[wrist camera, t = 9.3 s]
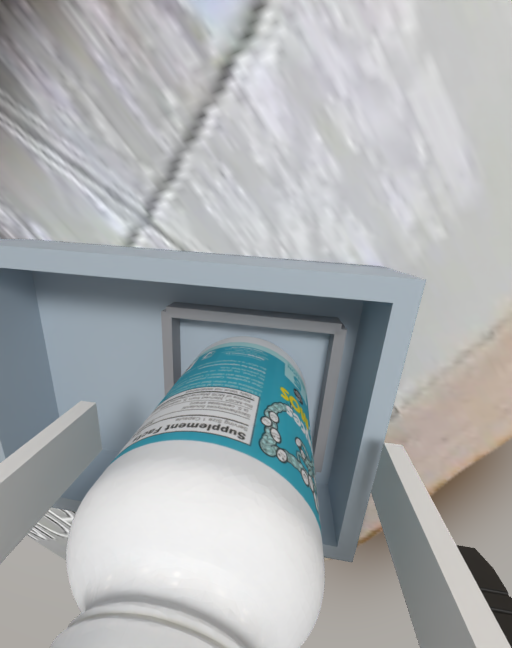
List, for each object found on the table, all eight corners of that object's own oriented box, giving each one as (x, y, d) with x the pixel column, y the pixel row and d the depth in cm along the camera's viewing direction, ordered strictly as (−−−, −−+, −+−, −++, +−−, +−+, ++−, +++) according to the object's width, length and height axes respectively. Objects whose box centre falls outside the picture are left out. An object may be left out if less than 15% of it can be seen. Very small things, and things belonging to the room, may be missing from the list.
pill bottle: (305, 437, 18) (339, 930, 5) (197, 431, 19) (2, 835, 6) (307, 330, 16) (376, 736, 3) (185, 330, 17) (-163, 632, 4)
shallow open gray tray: (64, 442, 22) (3, 498, 17) (26, 239, 17) (-75, 239, 13) (338, 485, 20) (352, 562, 15) (383, 266, 15) (426, 279, 10)
